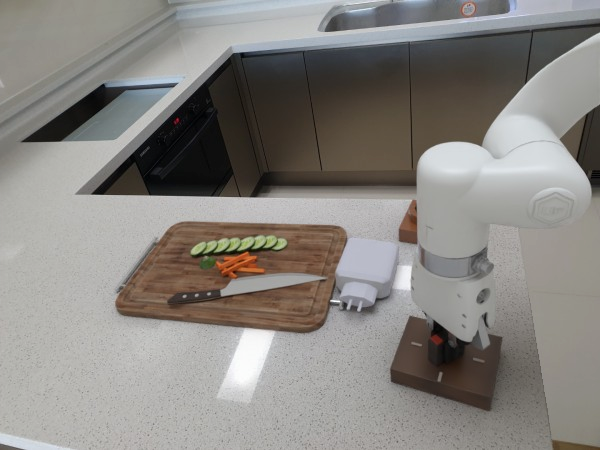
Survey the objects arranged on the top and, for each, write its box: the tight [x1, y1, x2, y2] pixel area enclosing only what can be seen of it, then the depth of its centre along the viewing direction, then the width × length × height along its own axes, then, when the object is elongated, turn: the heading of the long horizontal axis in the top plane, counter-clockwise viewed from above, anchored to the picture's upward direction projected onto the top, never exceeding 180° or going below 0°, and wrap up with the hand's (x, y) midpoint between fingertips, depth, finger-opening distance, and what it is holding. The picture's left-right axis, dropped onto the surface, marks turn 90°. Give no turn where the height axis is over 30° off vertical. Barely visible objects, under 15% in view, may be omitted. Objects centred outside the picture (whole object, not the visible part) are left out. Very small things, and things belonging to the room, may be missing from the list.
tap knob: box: [428, 328, 449, 367], centre depth 62 cm, size 6×2×4 cm, turn 123°
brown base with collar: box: [398, 199, 417, 245], centre depth 87 cm, size 12×10×5 cm
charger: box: [335, 237, 400, 313], centre depth 78 cm, size 5×9×15 cm
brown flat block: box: [389, 315, 503, 412], centre depth 64 cm, size 13×10×3 cm
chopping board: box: [114, 220, 348, 334], centre depth 88 cm, size 45×27×3 cm, turn 75°
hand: (447, 350), depth 63 cm, fingers closed on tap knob
